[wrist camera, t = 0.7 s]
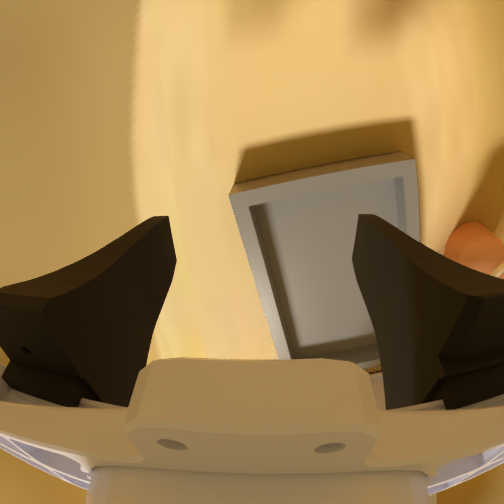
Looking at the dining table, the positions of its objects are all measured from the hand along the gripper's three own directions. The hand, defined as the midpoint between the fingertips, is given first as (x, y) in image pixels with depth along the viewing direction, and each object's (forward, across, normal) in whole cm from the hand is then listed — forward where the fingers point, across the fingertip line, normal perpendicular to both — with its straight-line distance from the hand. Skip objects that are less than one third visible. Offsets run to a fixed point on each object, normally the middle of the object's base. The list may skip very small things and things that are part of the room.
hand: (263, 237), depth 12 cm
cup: (+9, -18, +6) cm, 21 cm away
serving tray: (+9, -6, +9) cm, 14 cm away
